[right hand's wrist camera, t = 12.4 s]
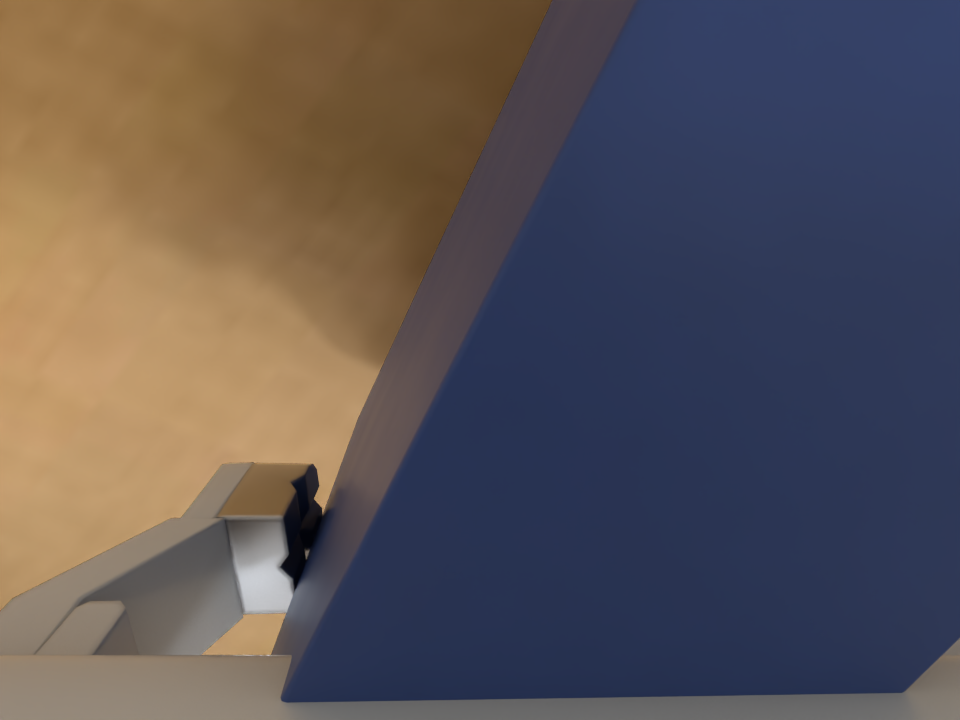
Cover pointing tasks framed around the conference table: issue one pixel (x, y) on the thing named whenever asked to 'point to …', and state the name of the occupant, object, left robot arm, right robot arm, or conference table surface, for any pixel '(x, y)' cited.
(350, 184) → the conference table surface
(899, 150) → the bar
